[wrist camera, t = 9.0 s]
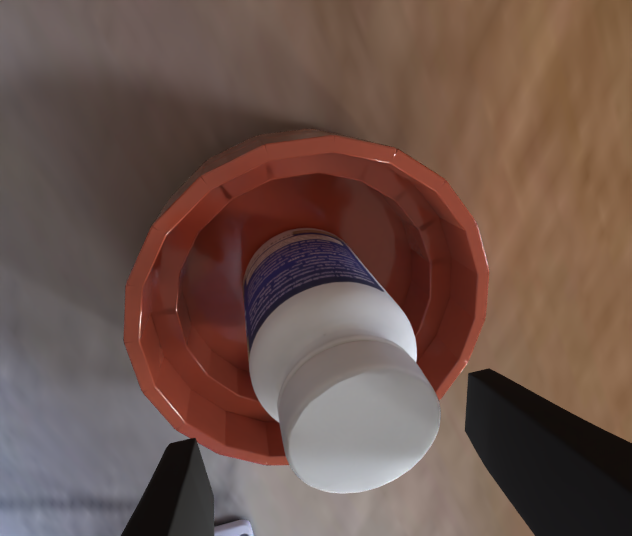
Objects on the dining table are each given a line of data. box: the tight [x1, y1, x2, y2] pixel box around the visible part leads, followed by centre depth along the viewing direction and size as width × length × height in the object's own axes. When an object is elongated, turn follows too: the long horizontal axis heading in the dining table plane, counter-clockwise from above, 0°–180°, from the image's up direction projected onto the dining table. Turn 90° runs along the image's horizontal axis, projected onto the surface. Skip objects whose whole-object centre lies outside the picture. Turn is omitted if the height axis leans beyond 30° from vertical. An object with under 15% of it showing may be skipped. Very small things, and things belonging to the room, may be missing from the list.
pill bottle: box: [243, 228, 441, 493], centre depth 13 cm, size 5×5×9 cm
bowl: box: [123, 128, 489, 465], centre depth 16 cm, size 13×13×4 cm
